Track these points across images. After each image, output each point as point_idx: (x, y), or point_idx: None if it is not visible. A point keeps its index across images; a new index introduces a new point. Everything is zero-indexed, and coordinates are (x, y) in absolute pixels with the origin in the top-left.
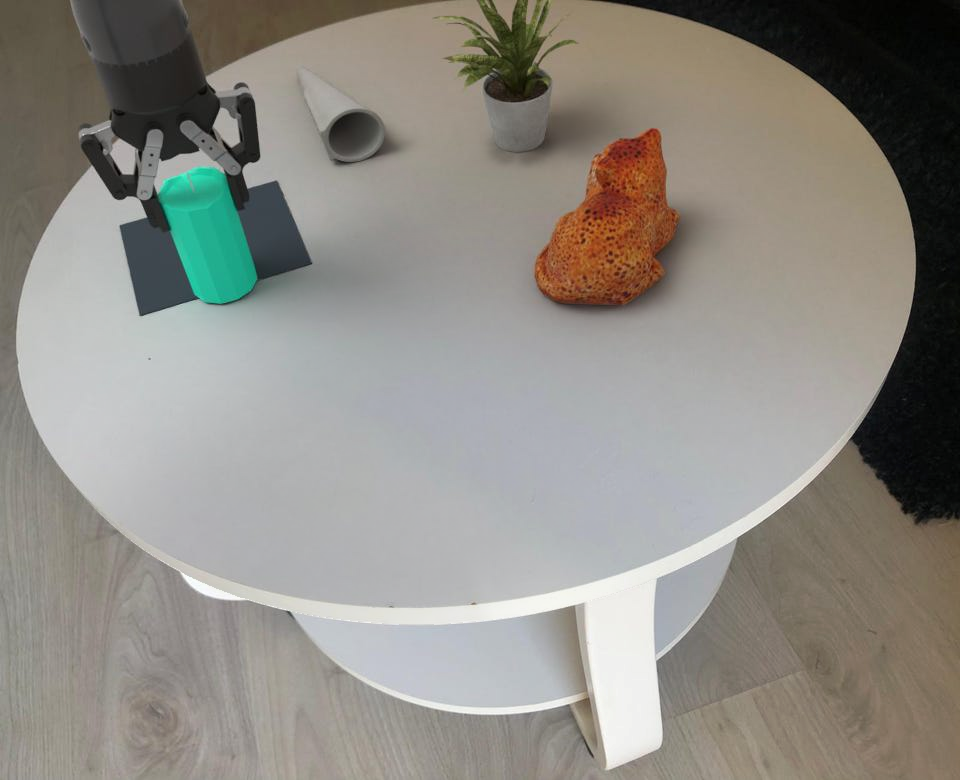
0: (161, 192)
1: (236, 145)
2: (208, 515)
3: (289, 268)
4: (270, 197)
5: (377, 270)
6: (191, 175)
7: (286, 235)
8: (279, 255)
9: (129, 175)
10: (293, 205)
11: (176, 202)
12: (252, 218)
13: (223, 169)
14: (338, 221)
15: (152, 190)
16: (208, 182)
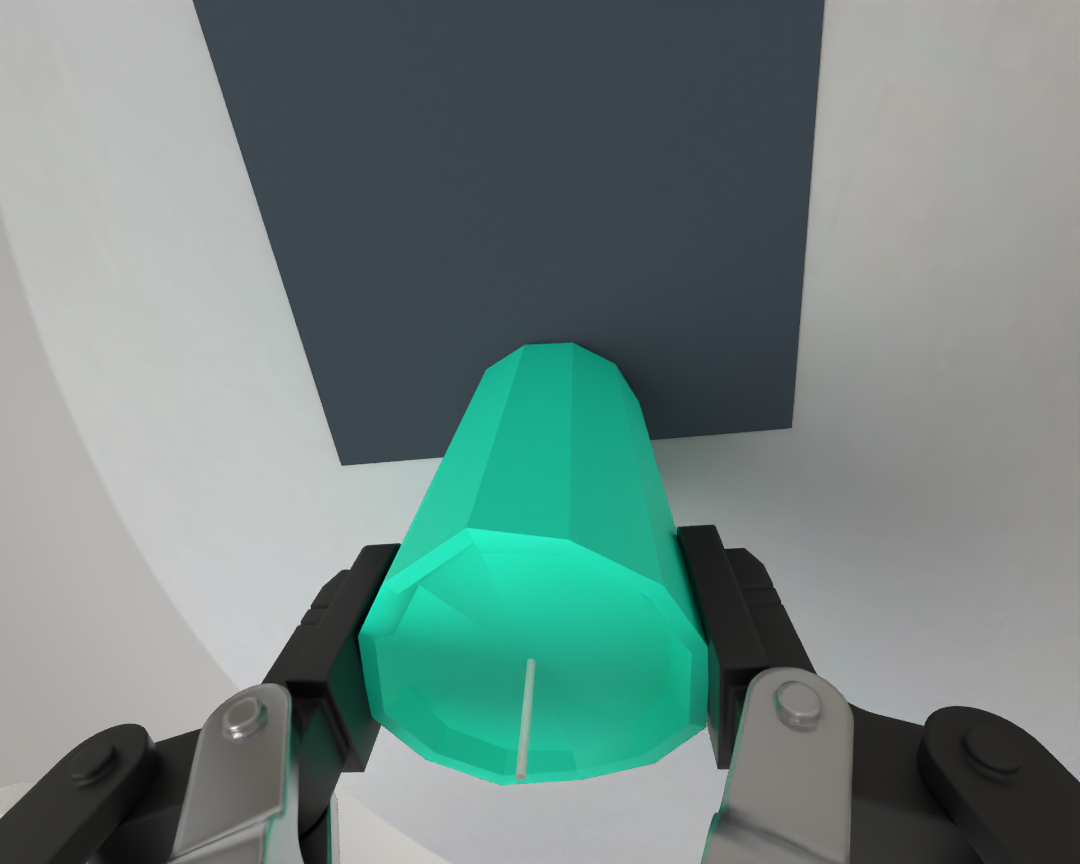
0: (373, 635)
1: (901, 817)
2: (491, 841)
3: (727, 429)
4: (771, 16)
5: (937, 504)
6: (524, 554)
7: (761, 283)
8: (715, 369)
9: (176, 811)
10: (836, 104)
11: (449, 696)
12: (676, 144)
13: (712, 650)
14: (942, 262)
15: (337, 827)
16: (607, 622)
